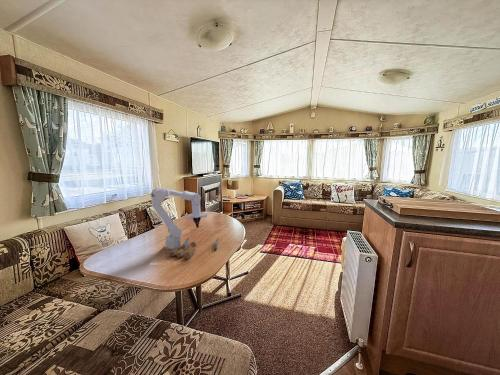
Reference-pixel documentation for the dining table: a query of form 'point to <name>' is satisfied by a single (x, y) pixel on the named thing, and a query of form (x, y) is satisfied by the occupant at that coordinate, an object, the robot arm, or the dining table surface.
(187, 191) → the robot arm
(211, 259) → the dining table surface
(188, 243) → the pair of rectangular slabs
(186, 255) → the wooden block set
